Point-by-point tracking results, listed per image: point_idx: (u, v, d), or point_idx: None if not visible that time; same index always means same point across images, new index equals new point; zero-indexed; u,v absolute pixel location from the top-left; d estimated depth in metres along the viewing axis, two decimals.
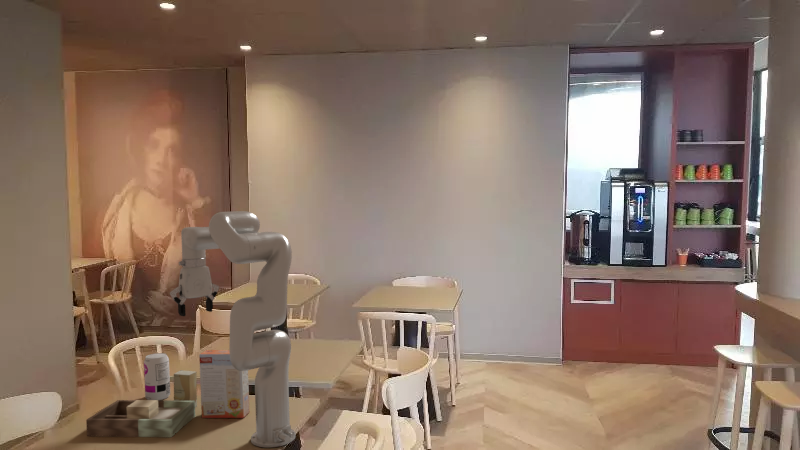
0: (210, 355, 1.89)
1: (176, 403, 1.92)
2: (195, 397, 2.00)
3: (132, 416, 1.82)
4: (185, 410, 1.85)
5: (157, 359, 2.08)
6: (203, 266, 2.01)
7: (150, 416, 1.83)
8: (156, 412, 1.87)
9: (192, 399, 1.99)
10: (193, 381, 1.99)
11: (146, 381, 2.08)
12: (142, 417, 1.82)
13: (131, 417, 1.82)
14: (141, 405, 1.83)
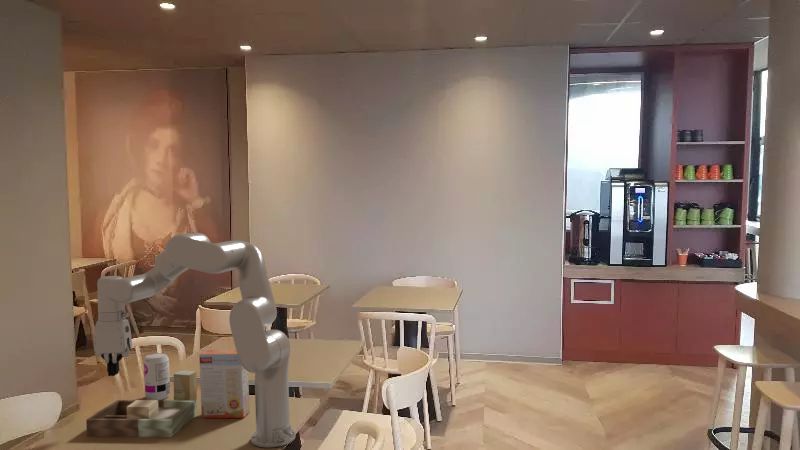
0: (210, 355, 1.89)
1: (176, 403, 1.92)
2: (195, 397, 2.00)
3: (132, 416, 1.82)
4: (185, 410, 1.85)
5: (157, 359, 2.08)
6: None
7: (150, 416, 1.83)
8: (156, 412, 1.87)
9: (192, 399, 1.99)
10: (193, 381, 1.99)
11: (146, 381, 2.08)
12: (142, 417, 1.82)
13: (131, 417, 1.82)
14: (141, 405, 1.83)
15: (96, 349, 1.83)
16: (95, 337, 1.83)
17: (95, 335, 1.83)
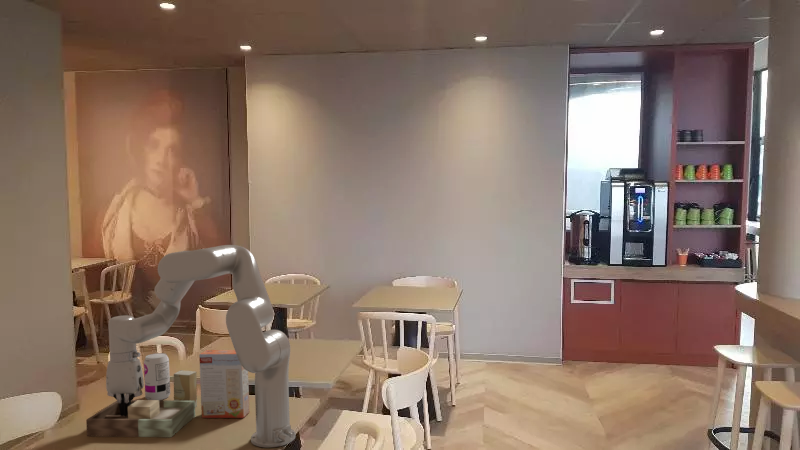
0: (210, 355, 1.89)
1: (176, 403, 1.92)
2: (195, 397, 2.00)
3: (133, 416, 1.82)
4: (185, 410, 1.85)
5: (157, 359, 2.08)
6: None
7: (151, 416, 1.83)
8: (157, 412, 1.86)
9: (192, 399, 1.99)
10: (193, 381, 1.99)
11: (146, 381, 2.08)
12: (143, 417, 1.82)
13: (133, 417, 1.82)
14: (142, 405, 1.83)
15: (108, 389, 1.83)
16: (107, 377, 1.83)
17: (107, 375, 1.83)
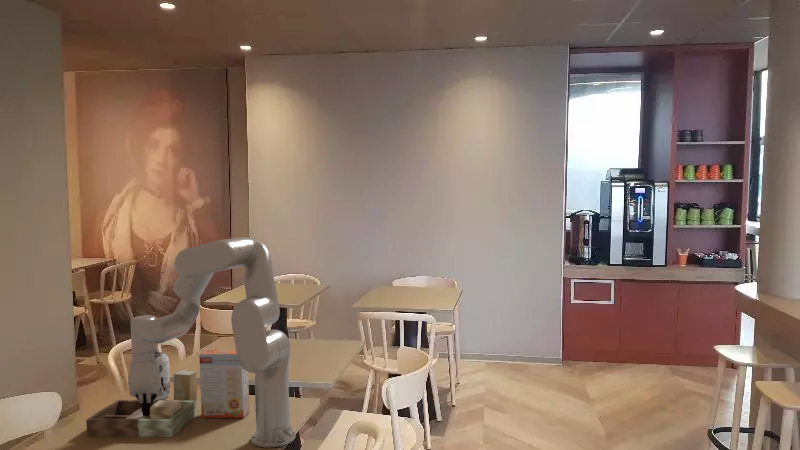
0: (210, 355, 1.89)
1: None
2: (195, 397, 2.00)
3: (155, 416, 1.82)
4: (185, 410, 1.85)
5: None
6: None
7: None
8: None
9: (192, 399, 1.99)
10: (193, 381, 1.99)
11: None
12: (166, 417, 1.81)
13: (155, 417, 1.82)
14: (164, 405, 1.83)
15: (130, 389, 1.83)
16: (129, 377, 1.83)
17: (129, 375, 1.83)
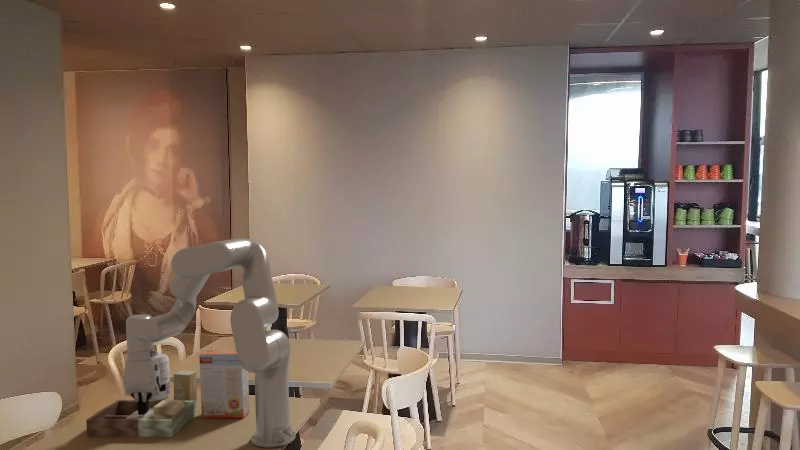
0: (210, 355, 1.89)
1: None
2: (195, 397, 2.00)
3: (159, 416, 1.82)
4: (185, 410, 1.85)
5: (157, 359, 2.08)
6: None
7: None
8: None
9: (192, 399, 1.99)
10: (193, 381, 1.99)
11: None
12: (169, 417, 1.81)
13: (158, 417, 1.82)
14: (168, 405, 1.83)
15: (126, 388, 1.83)
16: (125, 376, 1.83)
17: (125, 374, 1.83)
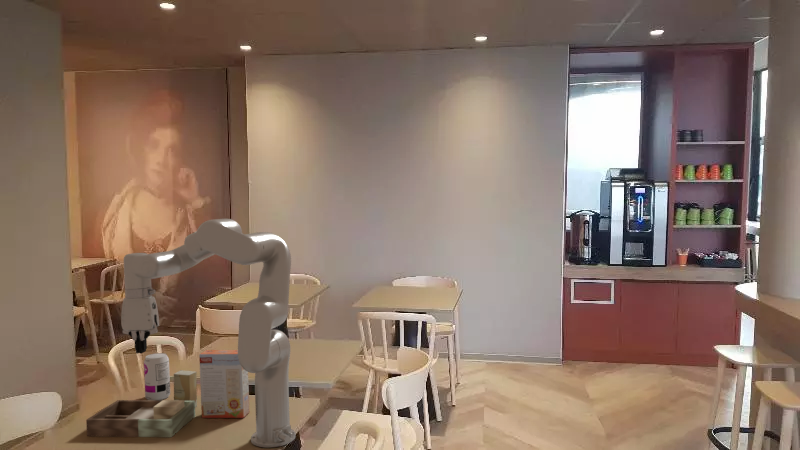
0: (210, 355, 1.89)
1: None
2: (195, 397, 2.00)
3: (159, 416, 1.82)
4: (185, 410, 1.85)
5: (157, 359, 2.08)
6: None
7: None
8: None
9: (192, 399, 1.99)
10: (193, 381, 1.99)
11: (146, 381, 2.08)
12: (169, 417, 1.81)
13: (158, 417, 1.82)
14: (168, 405, 1.83)
15: (123, 326, 1.82)
16: (122, 314, 1.82)
17: (122, 312, 1.82)
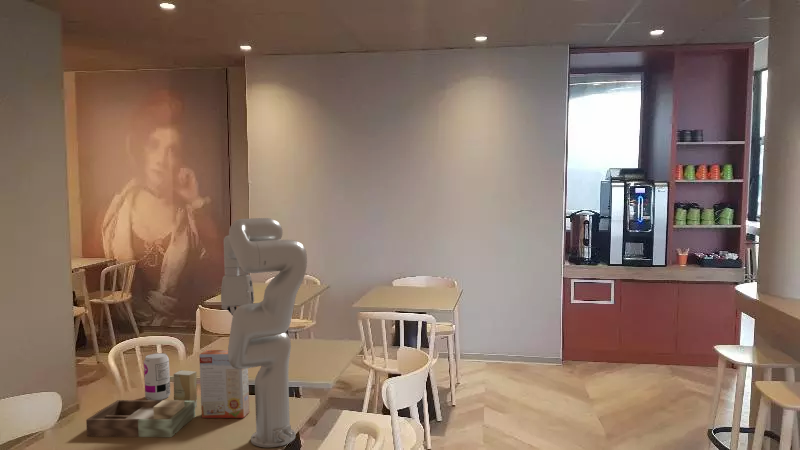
0: (210, 355, 1.89)
1: None
2: (195, 397, 2.00)
3: (159, 416, 1.82)
4: (185, 410, 1.85)
5: (157, 359, 2.08)
6: None
7: None
8: None
9: (192, 399, 1.99)
10: (193, 381, 1.99)
11: (146, 381, 2.08)
12: (169, 417, 1.81)
13: (158, 417, 1.82)
14: (168, 405, 1.83)
15: (223, 302, 1.98)
16: (222, 291, 1.97)
17: (222, 289, 1.97)
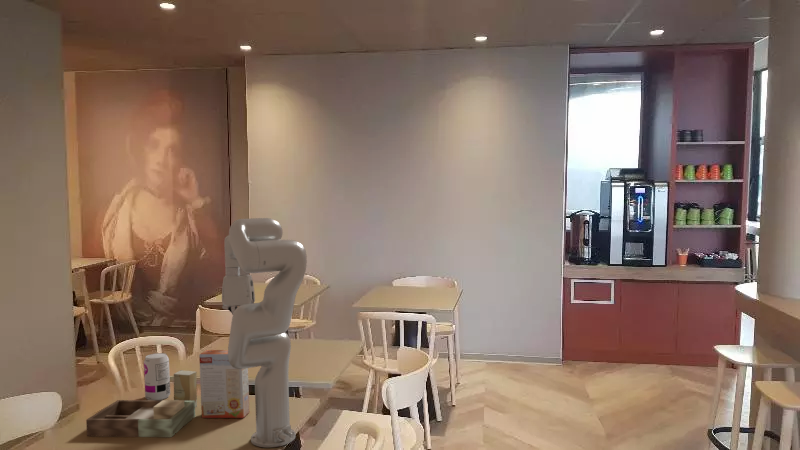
0: (210, 355, 1.89)
1: None
2: (195, 397, 2.00)
3: (159, 416, 1.82)
4: (185, 410, 1.85)
5: (157, 359, 2.08)
6: None
7: None
8: None
9: (192, 399, 1.99)
10: (193, 381, 1.99)
11: (146, 381, 2.08)
12: (169, 417, 1.81)
13: (158, 417, 1.82)
14: (168, 405, 1.83)
15: (224, 302, 1.98)
16: (223, 291, 1.98)
17: (223, 289, 1.98)
